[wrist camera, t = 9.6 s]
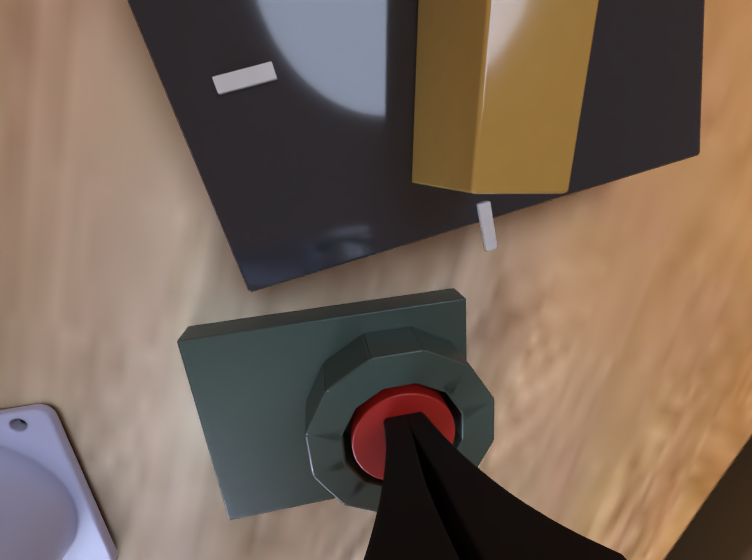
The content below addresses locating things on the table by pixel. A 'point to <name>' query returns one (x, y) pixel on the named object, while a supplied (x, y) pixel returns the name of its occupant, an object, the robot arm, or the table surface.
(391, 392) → the button
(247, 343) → the button box
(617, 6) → the block
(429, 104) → the gold rectangular bar
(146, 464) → the table surface
